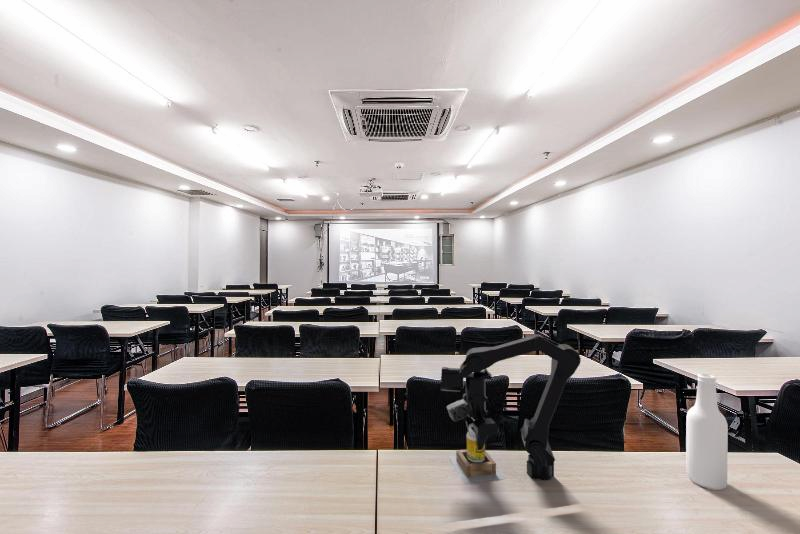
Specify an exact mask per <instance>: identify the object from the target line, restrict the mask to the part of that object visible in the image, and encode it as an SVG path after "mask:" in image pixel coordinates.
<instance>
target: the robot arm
mask: <svg viewBox="0 0 800 534" xmlns="http://www.w3.org/2000/svg"><path fill="white" fill-rule="evenodd" d="M536 351H537V352H540V353H542V354H543V355H546V356H547V357H549V358H550V359H551V363H550V374H549V377H548V378H547V382H546V384H545V388H544V390H543V392H542V395H541V397H540V400H539V402H538V405H537V408H536V411H535V412H534V416H533V417H532V418H530V420H529V419H528V418H524V422H523V425H522V428H520V432H521V439H522V443H523V445H524V449H525V451H526V452H527V453H528V456H527V458H528V460H526V474H527V475H528V477H530V479H532V480H533V479H534V480H539V481H549V480H552V478H554V477H555V461H556V458H555V455H554V453H553V451H552V449H551V446H550V444H549V428H550V424H551V422H552V419H553V417H554V414H555V412H556V408H557V406H558V404H559V402H560V398H561V396H562V393H563V391H564V389H565V386H566V382H567V381H568V380H569V379H570V378H571V377H572V376H573V375H574V374H575V373H576V371H577V370H578V367H580V364H581V362H582V358H581V356H580V354H579V353H578V352H577V351H576V349H574V348H573V347H572V346H571V345H569V344H566V343H561V344H560V343H557V342H555V341H553V340H552V339H549V338H547V337H544V336H542V335H541V334H539V333H538V334H537V333H535V334H532V335H530V336H526V337H523V338H519V339H516V340H513V341H510V342H505V343H503V344H500V345H498V344H497V345H495V346H480V347H473V348H472V347H471V348H470V349H469V350H467V352H466V355H465V359H464V360H463V362H462V363H461V364H460V366H459V368H457V367H456V368H454V367H446V366H442V367H441V373H440V374H441V376H440V378H441V379H440V382H439V383H440V391H445V392H458V393H459V392H461V391H462V389H464V383H465V392H464V393H463V395H462V399H458V400H456V401H455V402H452V403H450V404H448V405H447V406H446V409H447V412H448V416H449V417H450V418H451V420H452V421H453V422H456V423H457V422H459V421H462V420H464V421H465V424H466V428H467V432H468V431H469V424H472V423H473V427H471V429H472V430H473V431H474V432H475V434H476V441H477V447H478V450H482V448H483V446H484V444H485V445H486V442H487V440H488V438H489V437H490V436H492V435H499V433H500V425H498V424H497V423H496V421H494V420H493V419H492V418H491V417H487V418H485V416H489V411H488V410H487V409H486V407H487V405H486V402H489V397H488V396H486V380H492V379H493V376H492V375H493V374H492V373H491V372H489V371H488V368H490V367H492V366H494V364H496V363H498V362H500V361H505V360H509V359H511V358H515V357H519V356H522V355H526V354H530V353H533V352H536ZM464 380H465V381H464Z"/></svg>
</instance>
